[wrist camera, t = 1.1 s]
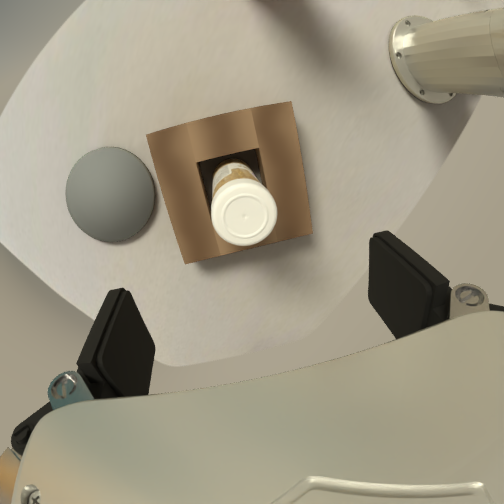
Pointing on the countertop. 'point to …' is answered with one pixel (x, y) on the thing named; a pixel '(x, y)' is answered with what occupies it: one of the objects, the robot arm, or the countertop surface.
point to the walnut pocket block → (223, 143)
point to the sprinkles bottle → (241, 204)
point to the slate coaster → (110, 194)
